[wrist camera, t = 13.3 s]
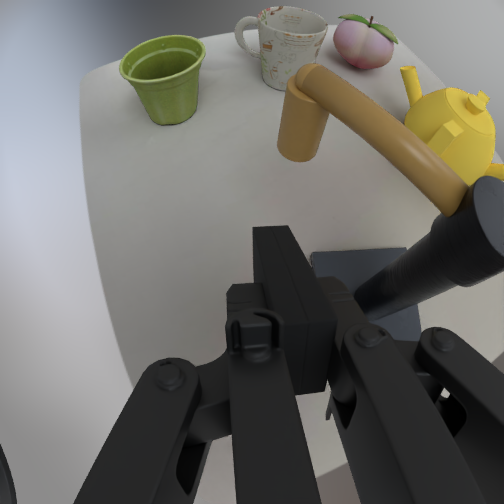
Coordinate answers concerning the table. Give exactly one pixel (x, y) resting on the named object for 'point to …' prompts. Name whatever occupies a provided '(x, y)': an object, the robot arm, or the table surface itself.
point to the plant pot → (165, 76)
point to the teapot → (453, 127)
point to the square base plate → (387, 283)
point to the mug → (284, 41)
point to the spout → (402, 170)
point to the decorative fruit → (364, 42)
